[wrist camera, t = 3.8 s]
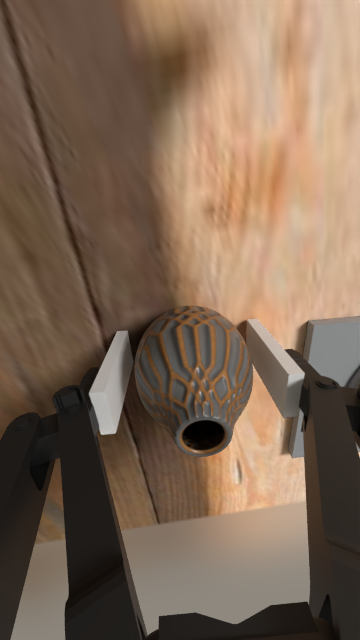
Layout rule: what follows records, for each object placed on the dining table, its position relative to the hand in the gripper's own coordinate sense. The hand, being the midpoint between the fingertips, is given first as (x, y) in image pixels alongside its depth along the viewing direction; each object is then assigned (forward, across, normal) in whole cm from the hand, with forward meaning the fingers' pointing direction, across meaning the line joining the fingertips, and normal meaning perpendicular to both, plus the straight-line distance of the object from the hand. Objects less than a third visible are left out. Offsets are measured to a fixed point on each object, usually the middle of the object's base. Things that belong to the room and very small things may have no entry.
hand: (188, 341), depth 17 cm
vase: (0, 0, 0) cm, 1 cm away
